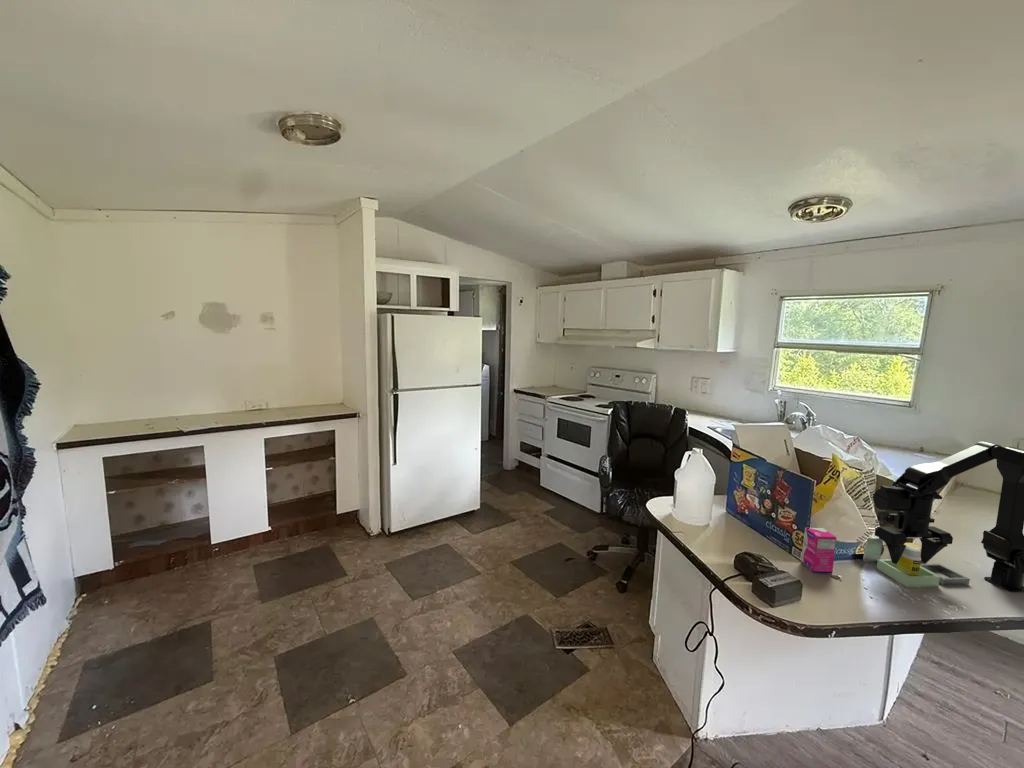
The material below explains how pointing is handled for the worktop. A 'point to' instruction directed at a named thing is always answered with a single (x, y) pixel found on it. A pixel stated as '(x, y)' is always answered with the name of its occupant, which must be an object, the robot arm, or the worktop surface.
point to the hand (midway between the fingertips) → (908, 563)
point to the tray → (922, 580)
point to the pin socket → (956, 577)
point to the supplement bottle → (910, 561)
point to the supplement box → (818, 550)
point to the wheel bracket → (873, 549)
